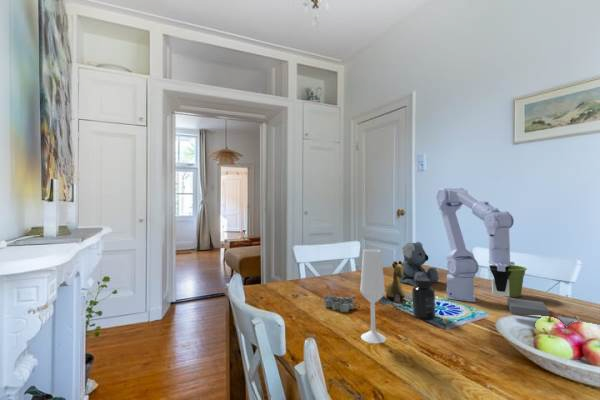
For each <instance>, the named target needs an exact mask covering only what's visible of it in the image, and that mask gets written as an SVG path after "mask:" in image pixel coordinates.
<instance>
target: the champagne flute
mask: <svg viewBox="0 0 600 400" xmlns="http://www.w3.org/2000/svg"><path fill="white" fill-rule="evenodd" d="M361 263H362V264H361V274H360V289H359V291H360V293H361V295H362V296H363V298H365V300H366V301H368V302H369V303H370V330H369V331H367V332H364V333H362V334H361V335H360V338H361V340H363V341H364V342H366V343H369V344H381V343H384V342H385V341H386V340H387V338H386V336H384V335H382V334H381V333H380V332H378V331H376V303H377V302H379V299H381V298H382V296H384V295H385V294H386V293H385V292H386V287H385V278H384V268H383V260H382V251H381V250H380V249H373V248H371V249H368V248H367V249H363V250H362V261H361Z"/></svg>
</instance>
